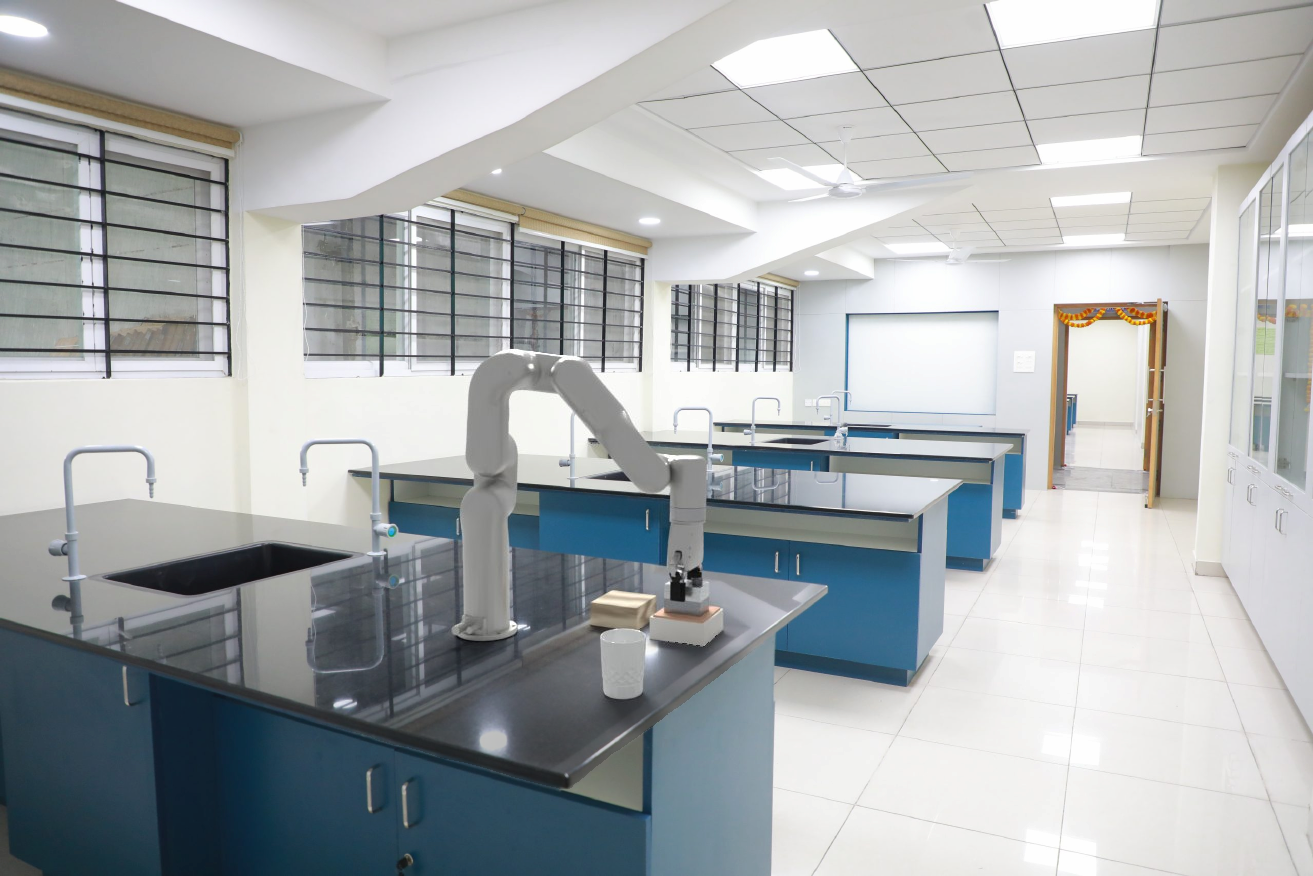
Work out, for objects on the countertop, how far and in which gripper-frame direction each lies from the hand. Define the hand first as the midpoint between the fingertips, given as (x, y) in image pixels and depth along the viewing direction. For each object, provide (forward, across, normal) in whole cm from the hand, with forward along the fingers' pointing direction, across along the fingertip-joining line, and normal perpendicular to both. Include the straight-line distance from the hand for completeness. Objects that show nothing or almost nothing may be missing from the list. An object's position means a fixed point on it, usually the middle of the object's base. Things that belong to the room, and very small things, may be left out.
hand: (686, 595), depth 175 cm
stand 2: (+8, 0, 0) cm, 8 cm away
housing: (+3, 0, 0) cm, 3 cm away
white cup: (+9, +34, +1) cm, 35 cm away
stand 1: (+8, -3, -16) cm, 18 cm away
